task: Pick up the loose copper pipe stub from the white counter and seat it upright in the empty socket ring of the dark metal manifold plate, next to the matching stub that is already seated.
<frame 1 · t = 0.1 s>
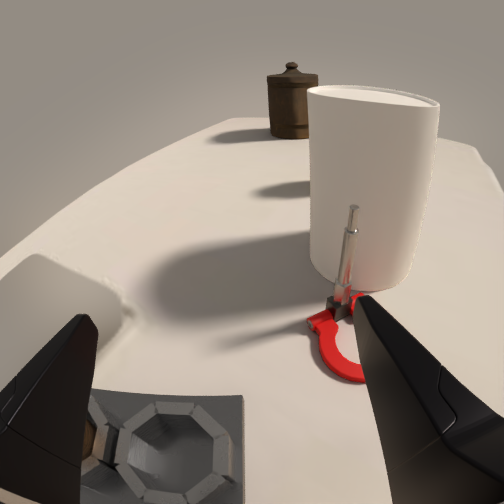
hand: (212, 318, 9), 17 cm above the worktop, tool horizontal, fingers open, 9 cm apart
canister: (361, 255, 37), on the worktop
tow hook: (358, 342, 26), on the worktop
manifold: (135, 458, 18), on the worktop
wooden container: (295, 133, 84), on the worktop
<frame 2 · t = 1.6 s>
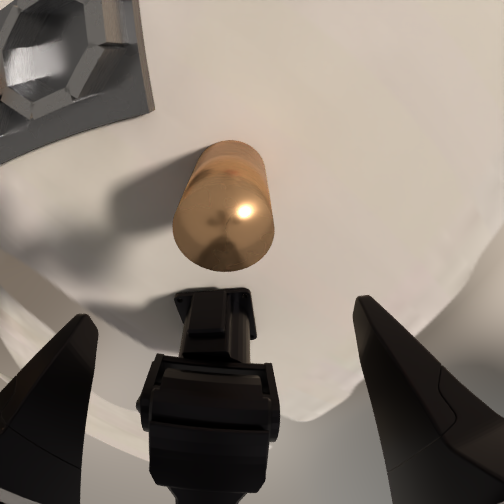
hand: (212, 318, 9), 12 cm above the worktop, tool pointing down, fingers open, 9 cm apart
pipe stub: (230, 173, 19), on the worktop
manifold: (28, 69, 13), on the worktop
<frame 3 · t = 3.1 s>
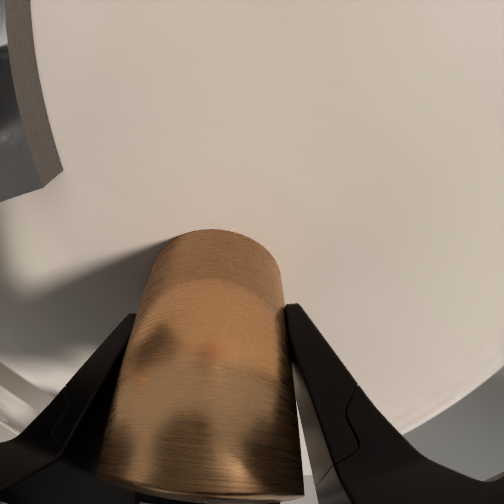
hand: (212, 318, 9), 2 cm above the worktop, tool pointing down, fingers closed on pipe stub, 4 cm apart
pipe stub: (216, 284, 10), on the worktop, touching gripper
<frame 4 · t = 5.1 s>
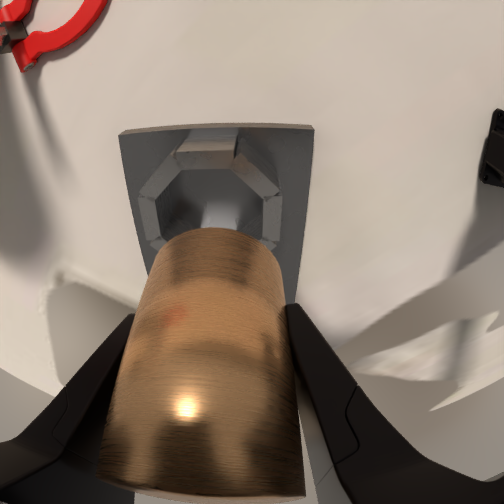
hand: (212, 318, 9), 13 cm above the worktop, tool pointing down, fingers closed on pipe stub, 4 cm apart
tow hook: (58, 2, 11), on the worktop
pipe stub: (216, 283, 10), point 11 cm above the worktop, touching gripper
manifold: (220, 241, 23), on the worktop
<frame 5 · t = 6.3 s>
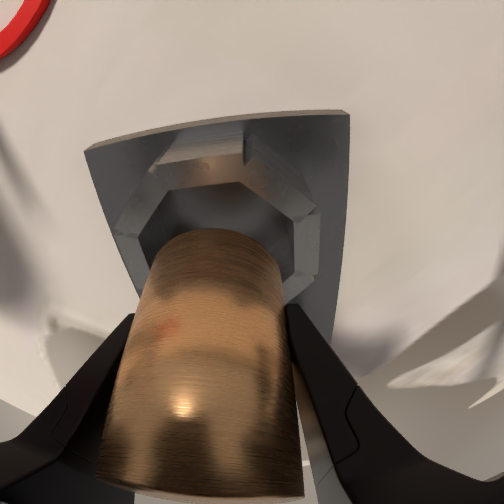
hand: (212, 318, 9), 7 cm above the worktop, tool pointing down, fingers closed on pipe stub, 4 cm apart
tow hook: (3, 2, 7), on the worktop
pipe stub: (215, 283, 10), point 6 cm above the worktop, touching gripper
manifold: (235, 272, 18), on the worktop
when the fingers open (5 cm above the worktop, at t = 7.2 s): pipe stub drops 3 cm, resting on manifold.
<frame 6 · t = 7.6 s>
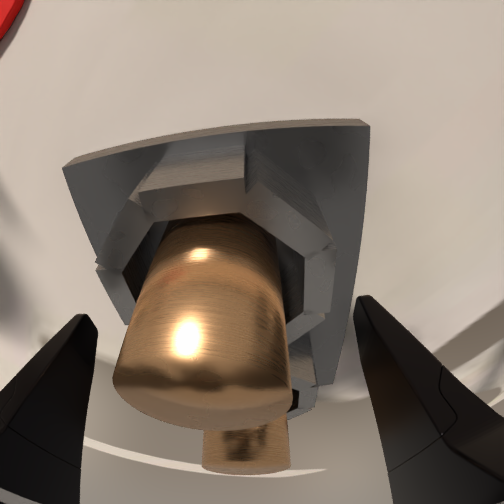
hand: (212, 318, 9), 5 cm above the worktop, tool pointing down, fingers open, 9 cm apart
pipe stub: (220, 240, 12), point 1 cm above the worktop, touching manifold
manifold: (235, 298, 16), on the worktop
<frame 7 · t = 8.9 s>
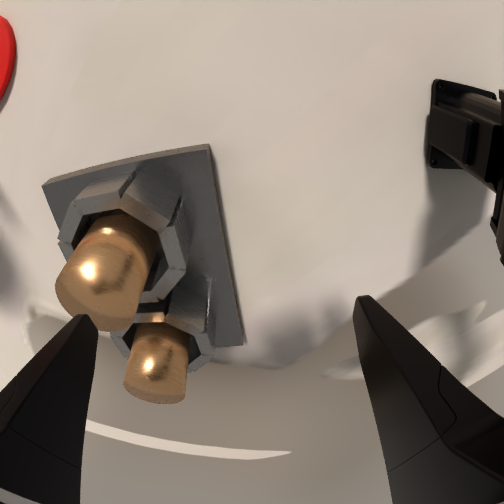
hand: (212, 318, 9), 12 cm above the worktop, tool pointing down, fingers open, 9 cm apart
pipe stub: (130, 227, 19), point 1 cm above the worktop, touching manifold
manifold: (153, 268, 22), on the worktop
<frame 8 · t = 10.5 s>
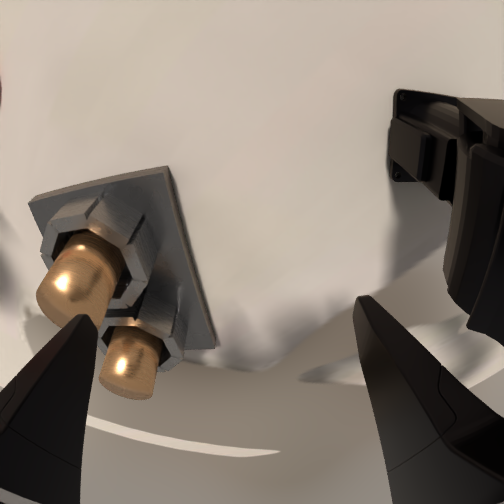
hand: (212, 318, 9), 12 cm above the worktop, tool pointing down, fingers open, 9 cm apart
pipe stub: (104, 240, 20), point 1 cm above the worktop, touching manifold
manifold: (128, 276, 24), on the worktop
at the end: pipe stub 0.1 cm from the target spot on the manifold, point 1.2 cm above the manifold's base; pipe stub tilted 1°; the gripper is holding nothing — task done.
